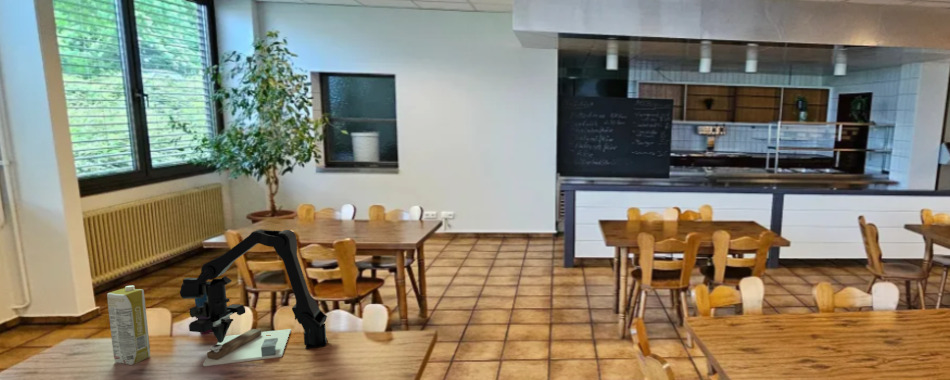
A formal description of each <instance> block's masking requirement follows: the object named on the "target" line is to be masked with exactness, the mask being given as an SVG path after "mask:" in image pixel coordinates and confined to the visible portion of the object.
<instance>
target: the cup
mask: <svg viewBox="0 0 950 380" xmlns="http://www.w3.org/2000/svg"><path fill="white" fill-rule="evenodd" d="M205 301H207V294H206V295H204V297H203V298H194V303H195V306H198V307H202V306H204V302H205ZM198 319H209V317H207V318H206V317H204V316H201V317H199V318H197V320H198ZM199 333H200V334H201V335H207V334H211V333H212V334H213V332H212V330H211V329H210V330H208V331H206V332H203V333H201V332H199Z"/></svg>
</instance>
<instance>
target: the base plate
mask: <svg viewBox="0 0 950 380" xmlns="http://www.w3.org/2000/svg"><path fill="white" fill-rule="evenodd" d="M291 332H292V328H287V329H278V330H268V331H261V334H262V335H260V336H258V337H256V338H255V339H253V340H251V341H249V342H248V343H246V344H244V345H242V346H240V347H239V348H237V349H235V350H233V351H231V352H230V353H228V354H226V355H224V356H222V357H221V358H219V359H210V358H207V357H206V359H205V360H204V361H203V364H202V366H203V367H209V366H217V365H224V364H232V363H234V364H235V363H243V362H249V361H251V362H252V361H258V360H266V359H267V360H268V359H274V358H282V357H283V355H284V352H285V350H284V349H286V347H287V344H288V341H289V338H290V336H289V334H290V335H291ZM242 334H243V333H241V334H233V335H232V334H231V335H225V338H224V340H223V342H221V343H219V342H218V341H217V342H216V344H215V345H212V346H210V351H211V350H213V351H214V352H216V353H217V352H219V349H221V348H222V345H223V344H224V343H226V342H228V341H230V340H232V339H234V338H236V337H238V336H240V335H242ZM266 335H271V336H266ZM288 337H289V338H288ZM272 338H278V341H277V343H276V355H272V356H264V357H262V352H261V347H262V344H263V342H264V340H265V339H272ZM287 340H288V341H287ZM286 343H287V344H286ZM285 346H286V347H285Z"/></svg>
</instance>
